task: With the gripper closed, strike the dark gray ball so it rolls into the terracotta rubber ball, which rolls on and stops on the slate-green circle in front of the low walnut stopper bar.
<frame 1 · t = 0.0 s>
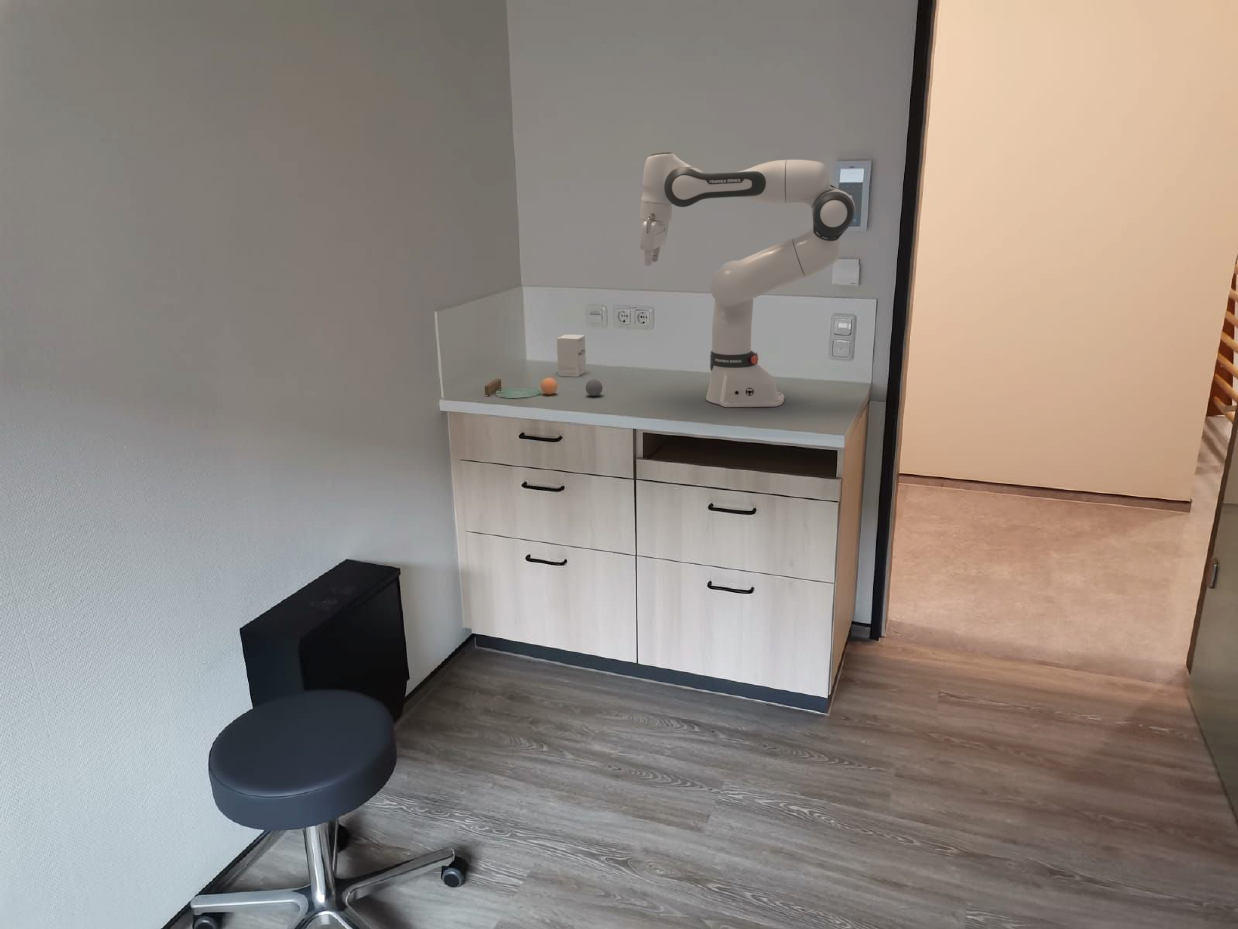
hand: (651, 263, 259), 39 cm above the worktop, tool pointing down, fingers open, 8 cm apart
object ball: (549, 386, 276), on the worktop
stopper bar: (493, 392, 281), on the worktop
supplement box: (572, 374, 302), on the worktop
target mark: (518, 393, 279), on the worktop
dark gray ball: (594, 387, 273), on the worktop
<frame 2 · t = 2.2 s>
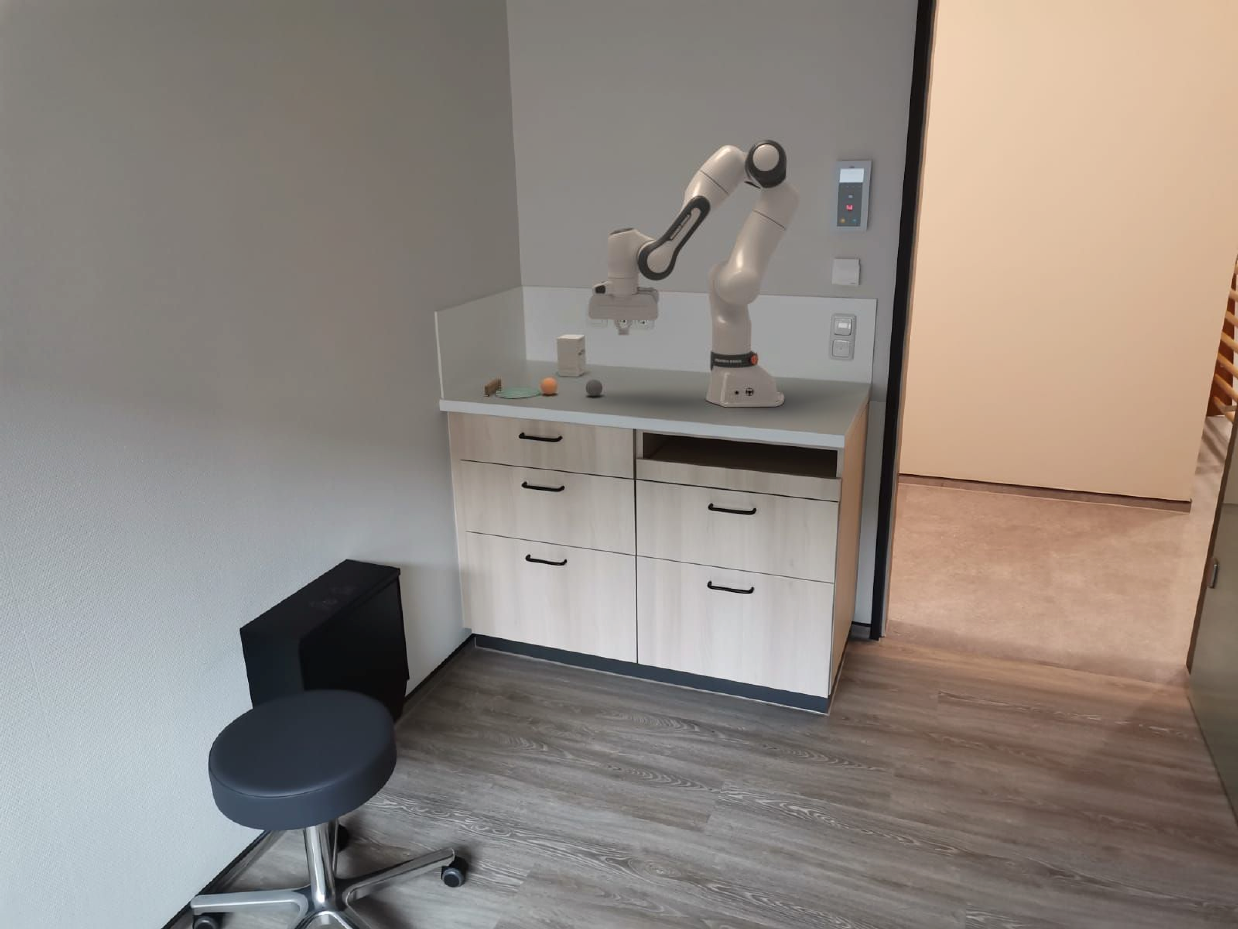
hand: (623, 334, 266), 19 cm above the worktop, tool pointing down, fingers closed
nothing on the worktop moved.
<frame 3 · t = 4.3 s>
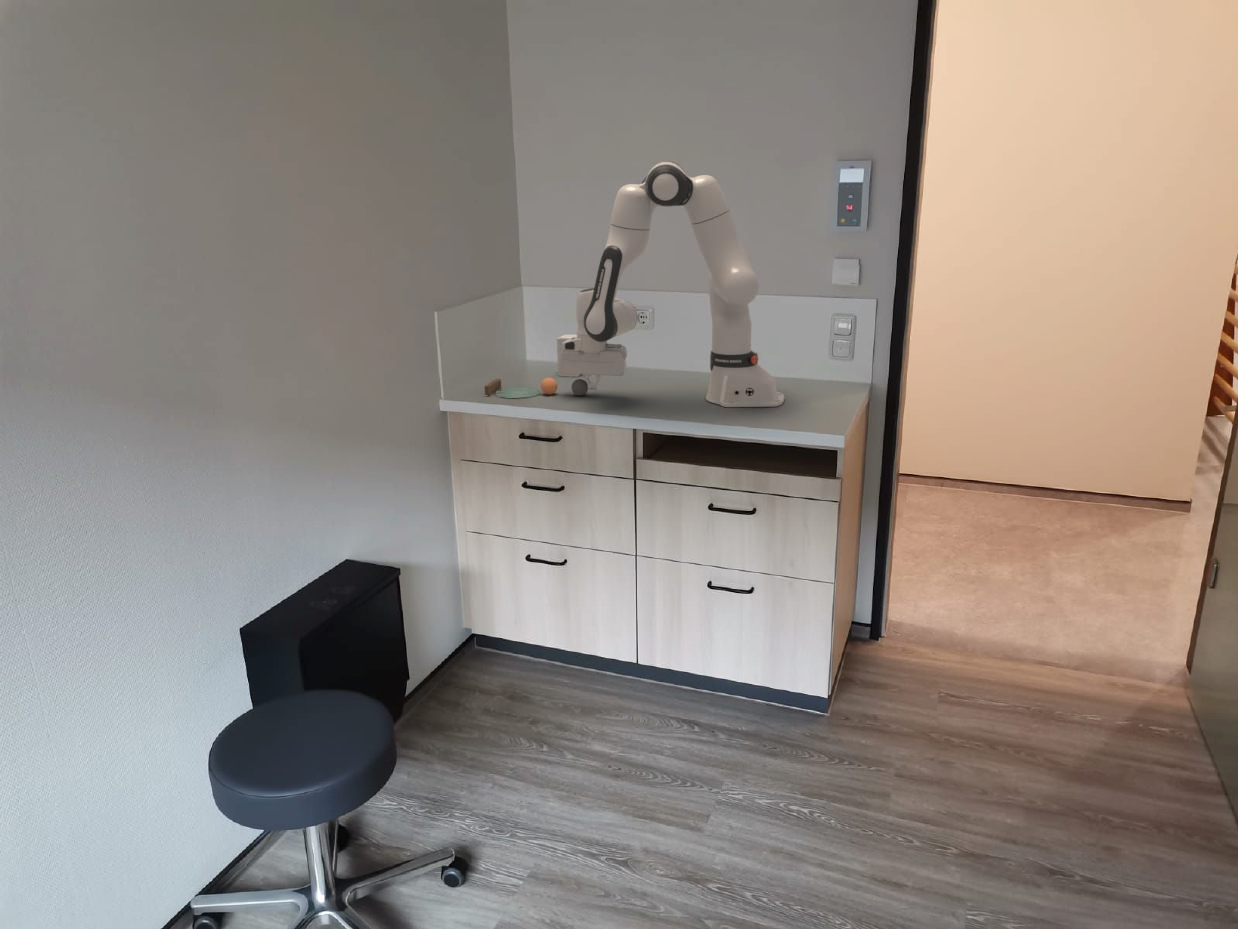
hand: (592, 388, 273), 2 cm above the worktop, tool pointing down, fingers closed
dark gray ball: (579, 387, 274), on the worktop
everything else where it was.
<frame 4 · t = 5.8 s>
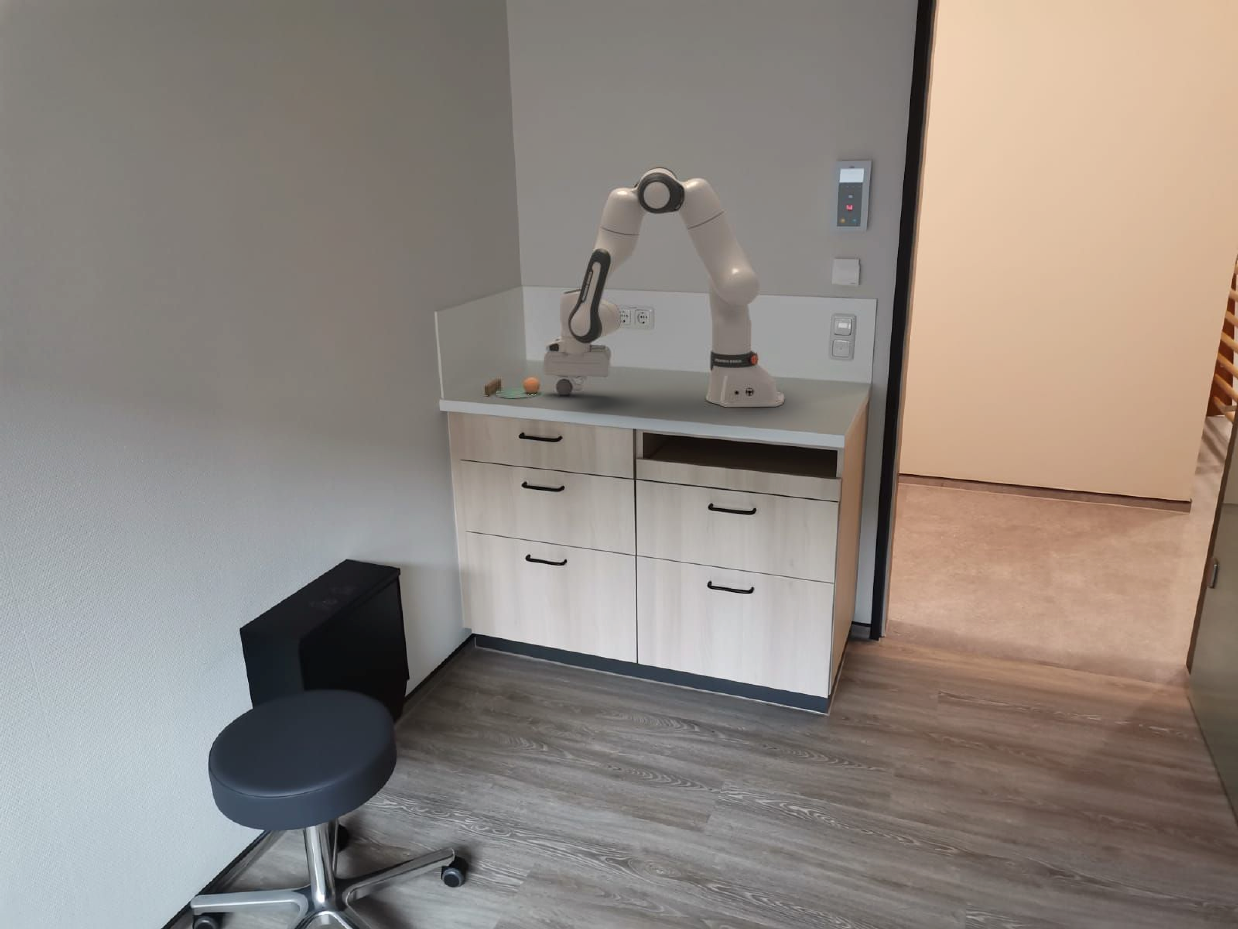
hand: (577, 390, 274), 2 cm above the worktop, tool pointing down, fingers closed
object ball: (531, 385, 277), on the worktop
dark gray ball: (564, 387, 275), on the worktop
everything else where it was.
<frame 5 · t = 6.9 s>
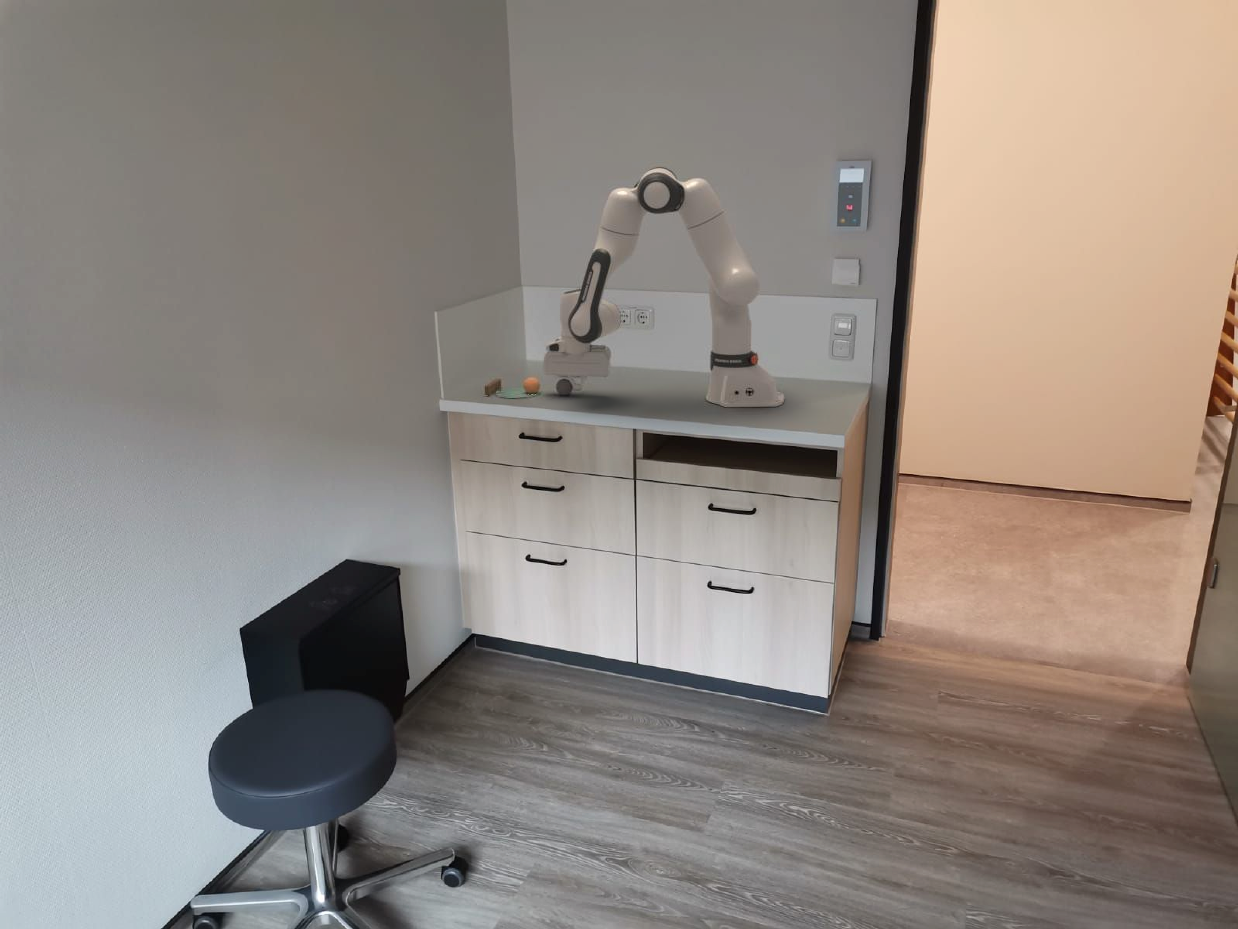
hand: (577, 390, 274), 2 cm above the worktop, tool pointing down, fingers closed
nothing on the worktop moved.
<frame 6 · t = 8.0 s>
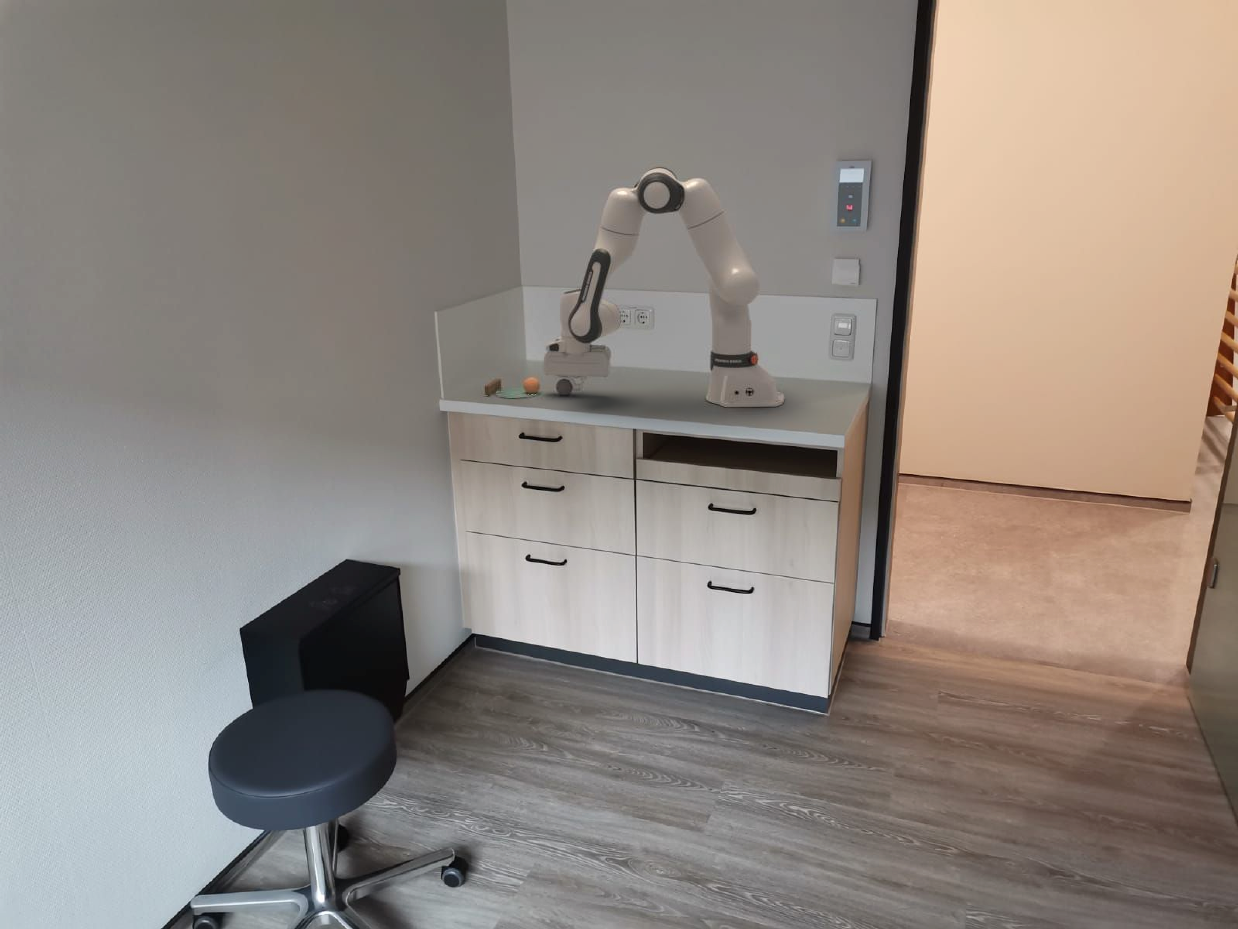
hand: (577, 390, 274), 2 cm above the worktop, tool pointing down, fingers closed
nothing on the worktop moved.
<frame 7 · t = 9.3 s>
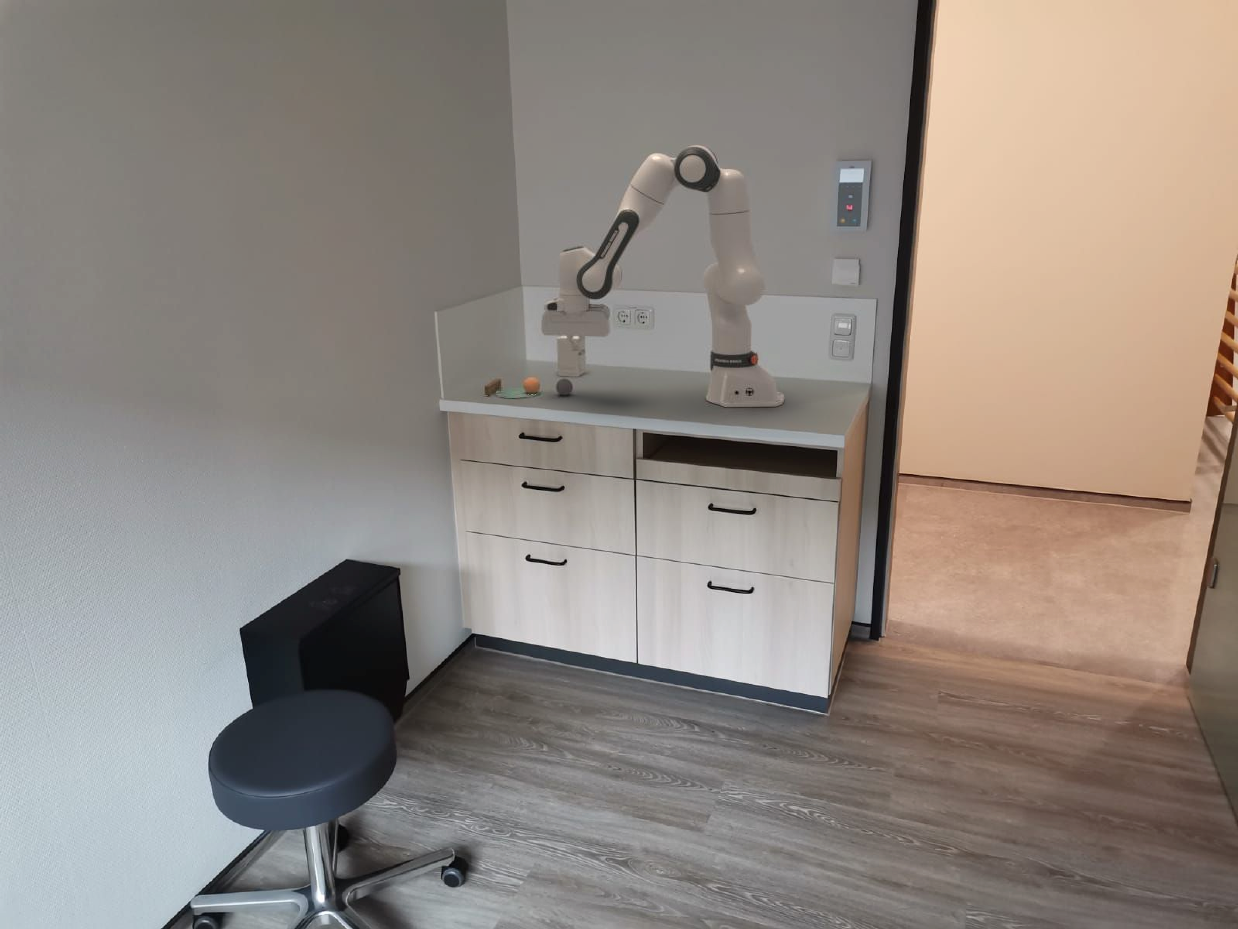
hand: (576, 350, 270), 14 cm above the worktop, tool pointing down, fingers closed
nothing on the worktop moved.
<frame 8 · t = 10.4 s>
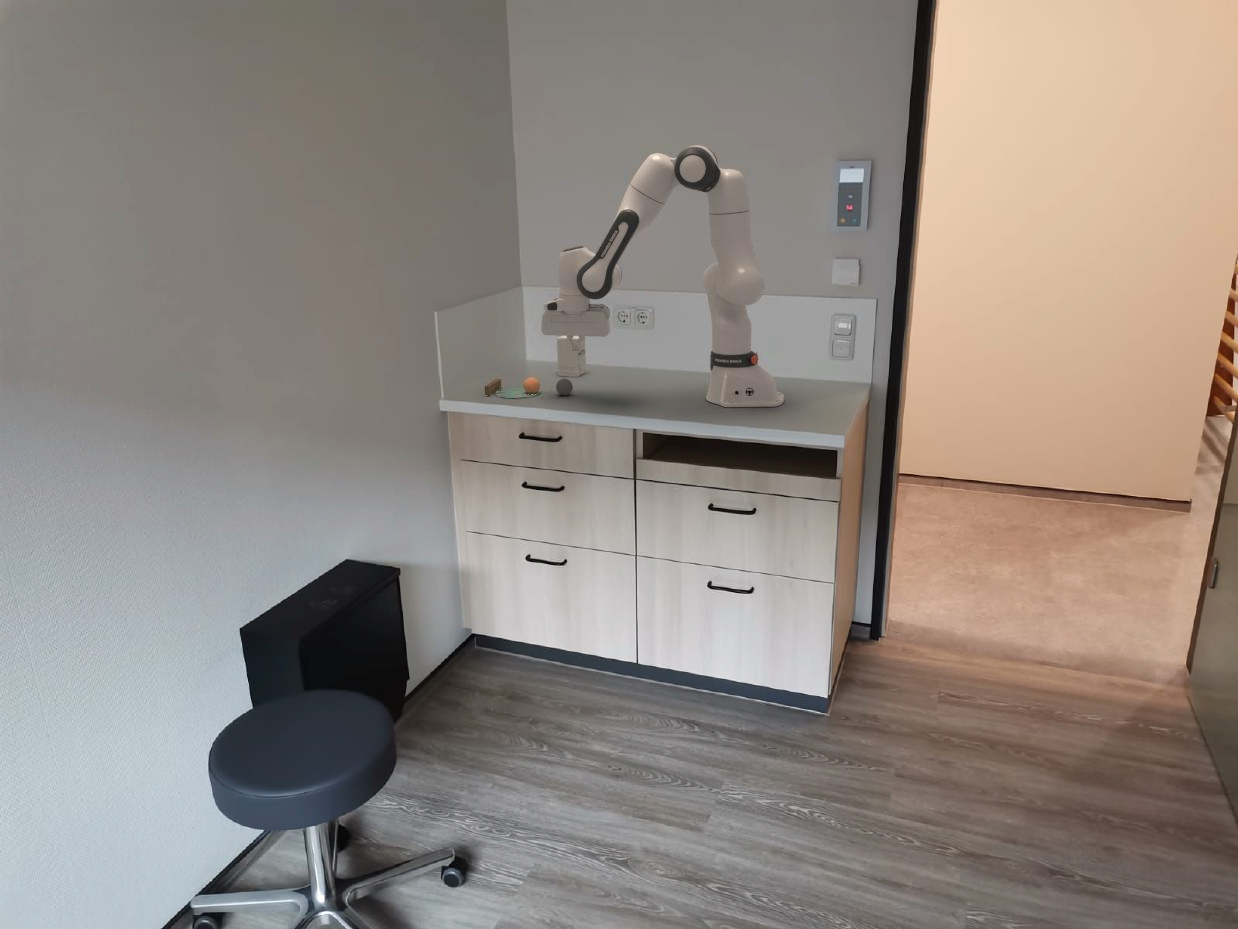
hand: (576, 350, 270), 14 cm above the worktop, tool pointing down, fingers closed
nothing on the worktop moved.
at the end: object ball 4.5 cm from the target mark (horizontally); object ball never touched the robot; dark gray ball first touched object ball at 4.5 s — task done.
